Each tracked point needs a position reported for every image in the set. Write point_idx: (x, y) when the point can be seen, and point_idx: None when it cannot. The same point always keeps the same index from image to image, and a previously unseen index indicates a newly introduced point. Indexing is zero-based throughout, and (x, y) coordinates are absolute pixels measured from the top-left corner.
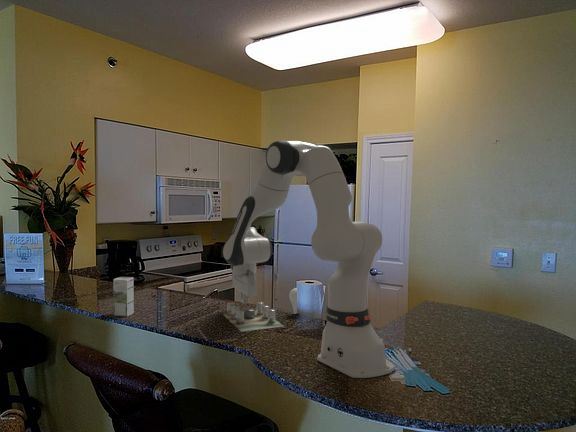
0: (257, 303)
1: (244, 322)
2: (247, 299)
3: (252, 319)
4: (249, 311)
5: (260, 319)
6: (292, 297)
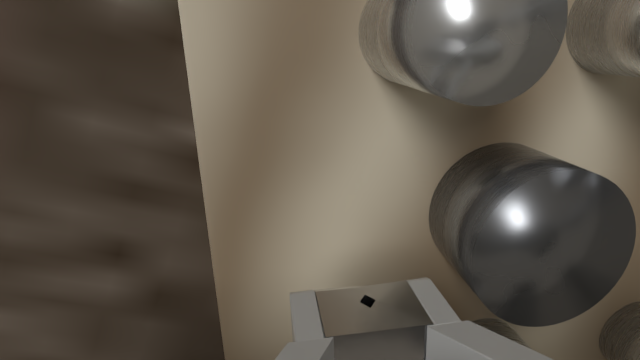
0: (508, 98)
1: (628, 291)
2: (462, 325)
3: None
4: (622, 265)
5: (625, 106)
6: None
